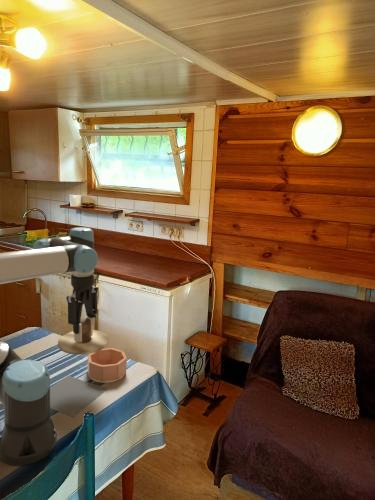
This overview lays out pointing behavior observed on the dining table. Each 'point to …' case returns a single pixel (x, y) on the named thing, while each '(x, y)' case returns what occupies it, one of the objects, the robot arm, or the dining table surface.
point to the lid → (83, 340)
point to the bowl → (107, 365)
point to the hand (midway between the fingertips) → (83, 337)
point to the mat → (73, 395)
